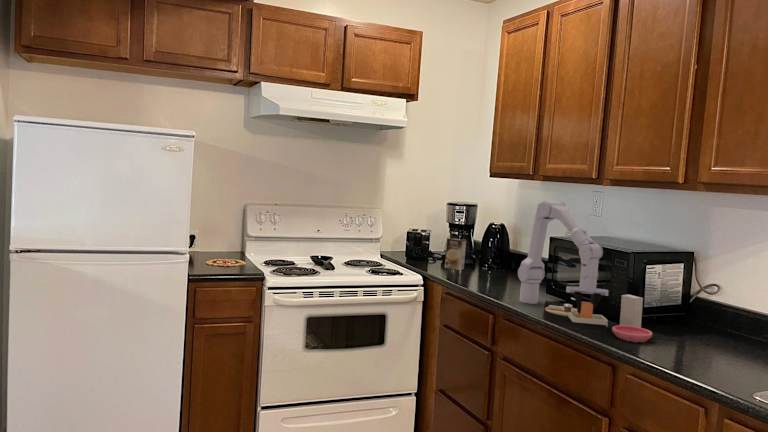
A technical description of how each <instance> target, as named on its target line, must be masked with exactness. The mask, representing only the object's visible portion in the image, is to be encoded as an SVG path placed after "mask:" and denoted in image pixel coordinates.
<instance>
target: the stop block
mask: <svg viewBox="0 0 768 432" xmlns="http://www.w3.org/2000/svg"><path fill="white" fill-rule="evenodd" d="M592 312H593V304H592V303H591V301H582V302H581V311H580V313H578V317H579V318H590V319H592Z"/></svg>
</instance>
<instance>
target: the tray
mask: <svg viewBox="0 0 768 432" xmlns="http://www.w3.org/2000/svg"><path fill="white" fill-rule="evenodd" d="M567 317H568V318H569V319H570V321H571V322H572V323H579V324H589V325H600V326H606V328H608V324H609V323H608V322H609V320H608V319H607V318H606V317H605V316H603V315H602V314H594V313H593V314H592V319H590V318H579V317H578V313H572V312H569V315H568V316H567Z"/></svg>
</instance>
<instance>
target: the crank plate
mask: <svg viewBox="0 0 768 432" xmlns="http://www.w3.org/2000/svg"><path fill="white" fill-rule="evenodd" d="M560 307H563V310H557V309H551V308H549V306H546V307H545V308H544V310H545V311H546V312H548V313H551V314H554V315H558V316H564V317H568V315H569V312H572V309H577V307H576V308H575V307H572V308H567V307H564V306H562V305H561V306H560ZM572 313H575V312H572Z"/></svg>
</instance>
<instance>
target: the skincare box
mask: <svg viewBox="0 0 768 432" xmlns="http://www.w3.org/2000/svg"><path fill="white" fill-rule="evenodd" d="M620 298H621V301H620V312H619V313H620V316H619V325H626V326H635V327H640V328H642V317H643V306H644V305H643V302H644V297H640V296H638V295H637V296H636V295H632V294H623V295H621V297H620Z"/></svg>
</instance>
